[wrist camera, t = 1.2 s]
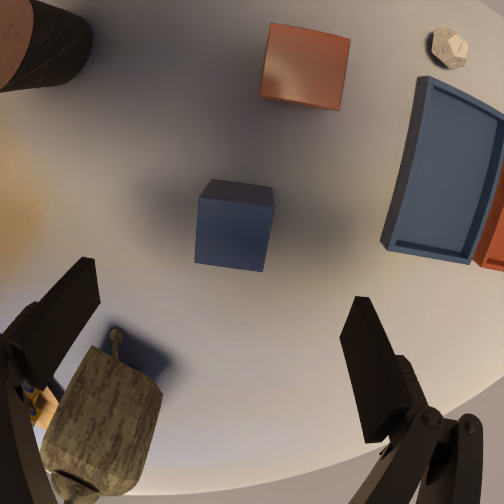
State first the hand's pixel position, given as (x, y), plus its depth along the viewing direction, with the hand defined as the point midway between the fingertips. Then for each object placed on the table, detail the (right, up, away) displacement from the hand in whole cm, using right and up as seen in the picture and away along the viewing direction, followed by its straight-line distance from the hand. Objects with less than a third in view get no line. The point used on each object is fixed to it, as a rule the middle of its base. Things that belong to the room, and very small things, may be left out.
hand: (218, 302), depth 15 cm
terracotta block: (+5, +16, +6) cm, 18 cm away
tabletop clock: (-14, -12, +21) cm, 28 cm away
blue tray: (+19, +9, +8) cm, 23 cm away
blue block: (0, +6, +11) cm, 12 cm away
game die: (+18, +20, +3) cm, 27 cm away
